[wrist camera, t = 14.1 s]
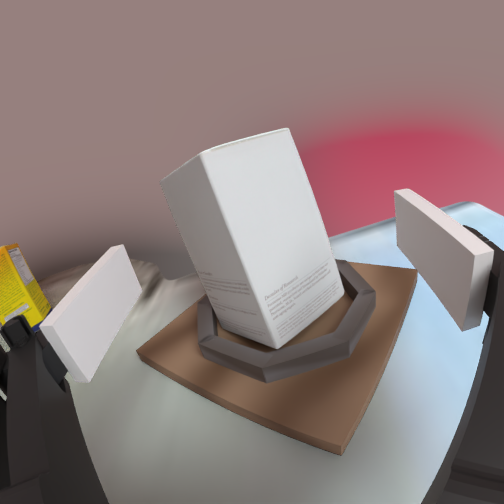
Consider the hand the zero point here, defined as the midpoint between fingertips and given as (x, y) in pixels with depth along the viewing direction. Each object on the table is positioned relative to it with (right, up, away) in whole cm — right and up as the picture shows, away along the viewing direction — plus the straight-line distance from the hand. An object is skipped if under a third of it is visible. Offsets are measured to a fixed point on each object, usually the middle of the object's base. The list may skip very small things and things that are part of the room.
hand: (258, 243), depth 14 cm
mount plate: (+3, -6, +11) cm, 13 cm away
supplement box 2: (+2, -5, +9) cm, 11 cm away
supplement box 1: (-28, -10, +18) cm, 35 cm away
